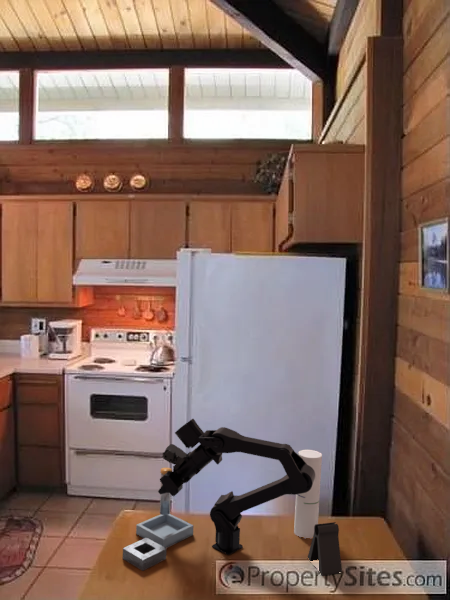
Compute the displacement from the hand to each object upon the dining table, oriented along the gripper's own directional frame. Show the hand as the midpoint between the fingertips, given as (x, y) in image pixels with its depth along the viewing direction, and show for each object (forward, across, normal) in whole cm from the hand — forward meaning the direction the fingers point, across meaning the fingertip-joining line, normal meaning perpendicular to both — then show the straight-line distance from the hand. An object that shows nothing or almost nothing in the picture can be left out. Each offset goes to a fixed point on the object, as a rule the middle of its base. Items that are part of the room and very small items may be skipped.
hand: (161, 490), depth 167 cm
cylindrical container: (-19, -17, +39) cm, 47 cm away
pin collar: (+8, +14, +10) cm, 20 cm away
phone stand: (-25, 0, +44) cm, 51 cm away
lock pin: (+4, 0, +6) cm, 7 cm away
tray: (+9, 0, +10) cm, 14 cm away
